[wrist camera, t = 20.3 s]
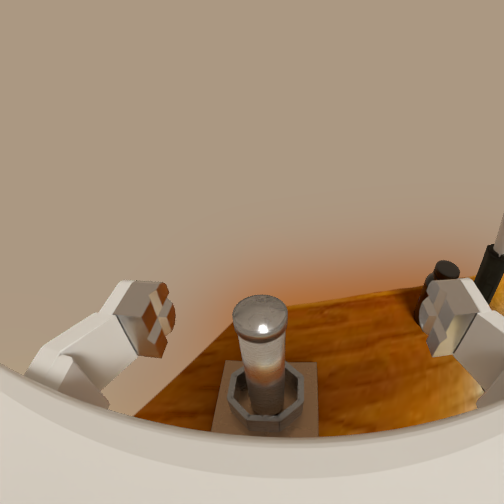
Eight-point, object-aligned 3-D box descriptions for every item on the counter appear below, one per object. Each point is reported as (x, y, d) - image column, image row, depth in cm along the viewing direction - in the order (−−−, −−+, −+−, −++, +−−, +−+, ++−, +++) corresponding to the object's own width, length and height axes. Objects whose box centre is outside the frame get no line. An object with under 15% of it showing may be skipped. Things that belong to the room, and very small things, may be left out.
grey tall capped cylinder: (286, 387, 37) (287, 294, 27) (284, 417, 33) (287, 333, 23) (251, 386, 38) (236, 294, 28) (247, 416, 33) (228, 332, 24)
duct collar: (315, 366, 41) (319, 346, 38) (317, 449, 29) (322, 437, 26) (226, 364, 43) (221, 344, 40) (210, 443, 31) (202, 431, 28)
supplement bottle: (410, 305, 49) (426, 254, 42) (439, 306, 47) (458, 257, 41) (415, 331, 43) (436, 279, 37) (446, 331, 42) (470, 281, 35)
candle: (467, 306, 45) (506, 196, 32) (468, 292, 49) (501, 187, 35) (486, 312, 43) (528, 204, 29) (485, 298, 46) (522, 195, 33)
